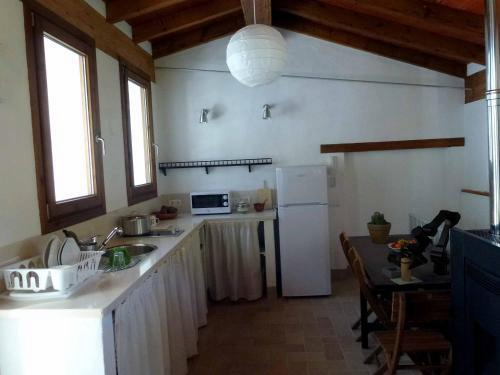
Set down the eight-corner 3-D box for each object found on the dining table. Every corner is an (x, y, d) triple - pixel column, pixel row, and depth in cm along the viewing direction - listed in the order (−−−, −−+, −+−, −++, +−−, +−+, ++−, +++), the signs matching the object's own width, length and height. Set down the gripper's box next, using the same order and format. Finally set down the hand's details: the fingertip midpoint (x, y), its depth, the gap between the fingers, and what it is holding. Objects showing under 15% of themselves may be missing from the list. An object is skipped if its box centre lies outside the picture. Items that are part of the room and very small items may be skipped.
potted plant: (363, 240, 316) (362, 210, 314) (385, 238, 318) (384, 208, 316) (373, 245, 297) (372, 213, 295) (396, 243, 299) (395, 212, 297)
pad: (412, 278, 219) (412, 276, 219) (422, 282, 211) (422, 281, 211) (390, 281, 217) (390, 279, 217) (399, 286, 208) (399, 284, 208)
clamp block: (397, 271, 232) (397, 265, 232) (408, 277, 221) (408, 270, 221) (380, 274, 230) (380, 267, 229) (390, 279, 219) (390, 273, 219)
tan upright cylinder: (407, 278, 217) (407, 257, 216) (413, 281, 212) (413, 259, 211) (399, 279, 216) (398, 258, 215) (404, 282, 211) (404, 260, 210)
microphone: (405, 274, 237) (392, 261, 256) (408, 265, 235) (395, 253, 255) (397, 272, 236) (384, 259, 256) (400, 263, 235) (387, 251, 255)
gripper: (401, 233, 222) (384, 254, 220) (422, 239, 203) (404, 262, 202) (414, 245, 224) (397, 266, 222) (435, 252, 205) (417, 275, 204)
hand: (403, 267), depth 213 cm, fingers open, 9 cm apart
